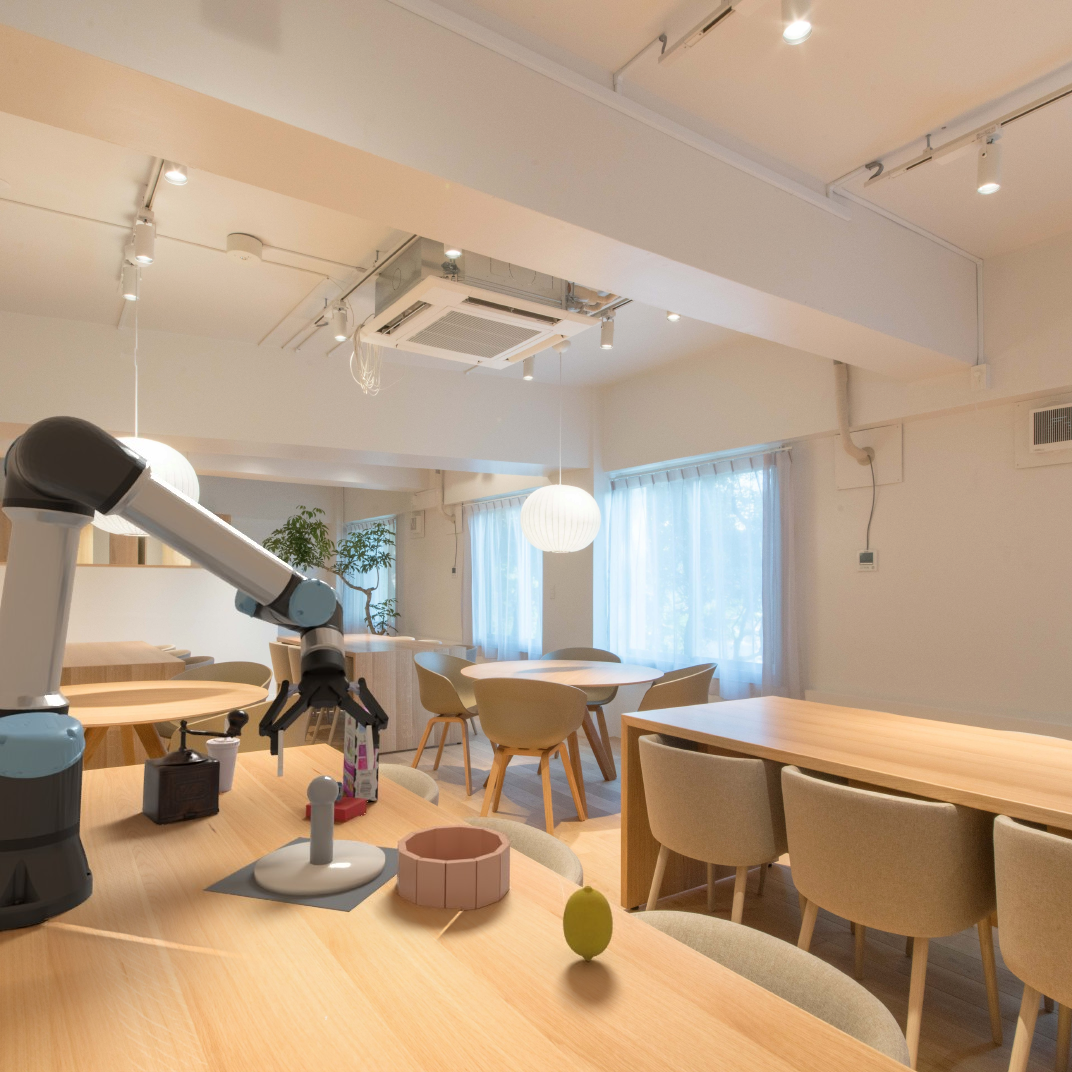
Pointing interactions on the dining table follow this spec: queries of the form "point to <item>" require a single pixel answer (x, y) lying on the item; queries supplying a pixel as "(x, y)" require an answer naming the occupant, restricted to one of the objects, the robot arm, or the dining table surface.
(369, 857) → the lid
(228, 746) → the smoothie
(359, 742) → the candy bar box
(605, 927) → the lemon
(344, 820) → the red rectangular block
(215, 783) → the coffee grinder
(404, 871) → the bowl
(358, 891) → the mat
